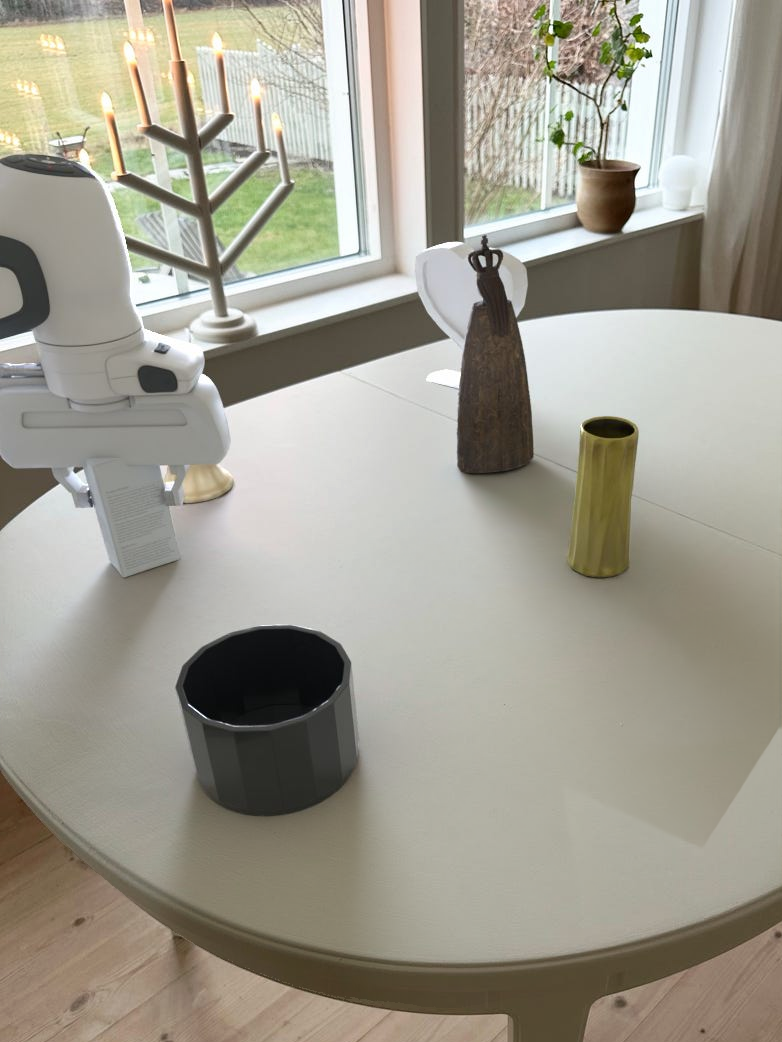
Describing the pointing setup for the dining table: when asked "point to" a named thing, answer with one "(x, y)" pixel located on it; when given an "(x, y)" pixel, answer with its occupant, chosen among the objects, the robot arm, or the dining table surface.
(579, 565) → the vase
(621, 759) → the dining table surface
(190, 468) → the hand bell
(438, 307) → the heart sculpture
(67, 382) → the robot arm
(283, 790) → the holder pot
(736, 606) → the dining table surface
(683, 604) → the dining table surface
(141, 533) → the cosmetic box
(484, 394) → the statue
